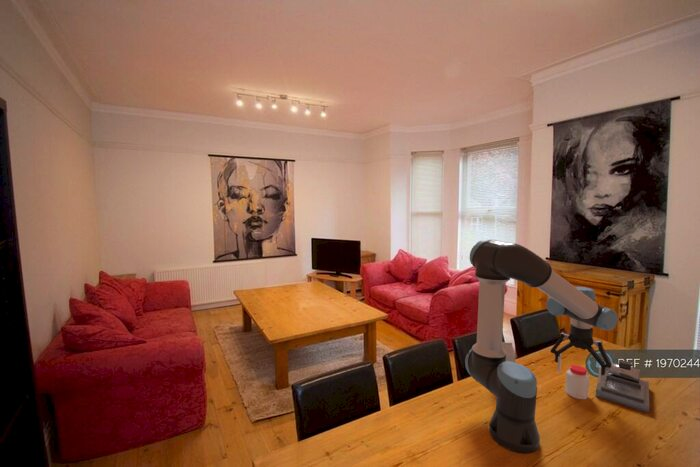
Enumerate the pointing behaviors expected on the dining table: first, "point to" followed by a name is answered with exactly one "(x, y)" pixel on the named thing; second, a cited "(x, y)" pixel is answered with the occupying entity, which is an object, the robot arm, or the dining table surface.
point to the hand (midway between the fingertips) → (578, 375)
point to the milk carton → (509, 351)
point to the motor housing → (624, 387)
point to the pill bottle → (577, 382)
